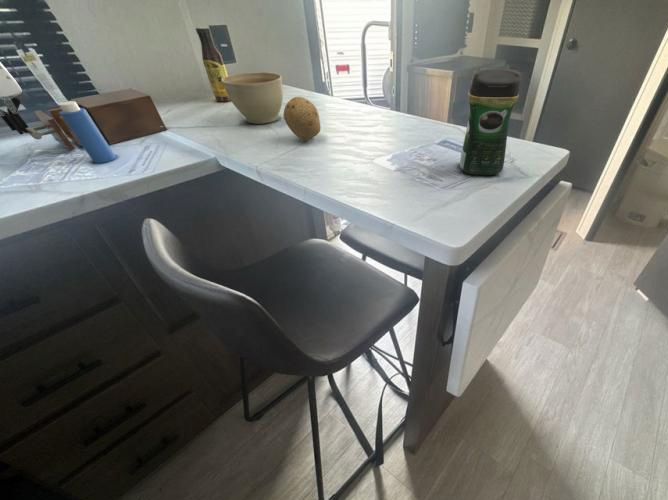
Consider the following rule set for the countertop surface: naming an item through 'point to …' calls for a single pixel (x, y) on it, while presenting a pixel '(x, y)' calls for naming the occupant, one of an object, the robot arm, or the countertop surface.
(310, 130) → the potato
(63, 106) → the bottle
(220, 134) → the countertop surface
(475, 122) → the coffee jar
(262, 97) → the planter bowl
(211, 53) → the sauce bottle
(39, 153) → the countertop surface
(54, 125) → the drawer
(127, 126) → the cabinet
